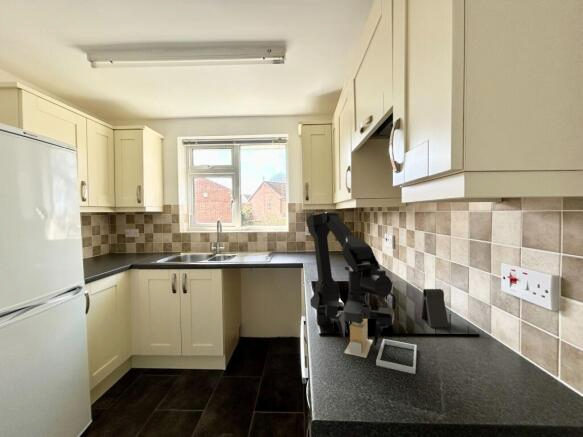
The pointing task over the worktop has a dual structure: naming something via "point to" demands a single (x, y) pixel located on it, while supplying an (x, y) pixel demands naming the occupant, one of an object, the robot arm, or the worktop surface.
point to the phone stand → (434, 309)
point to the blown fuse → (359, 333)
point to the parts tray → (394, 365)
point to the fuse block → (358, 348)
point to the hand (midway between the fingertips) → (359, 341)
